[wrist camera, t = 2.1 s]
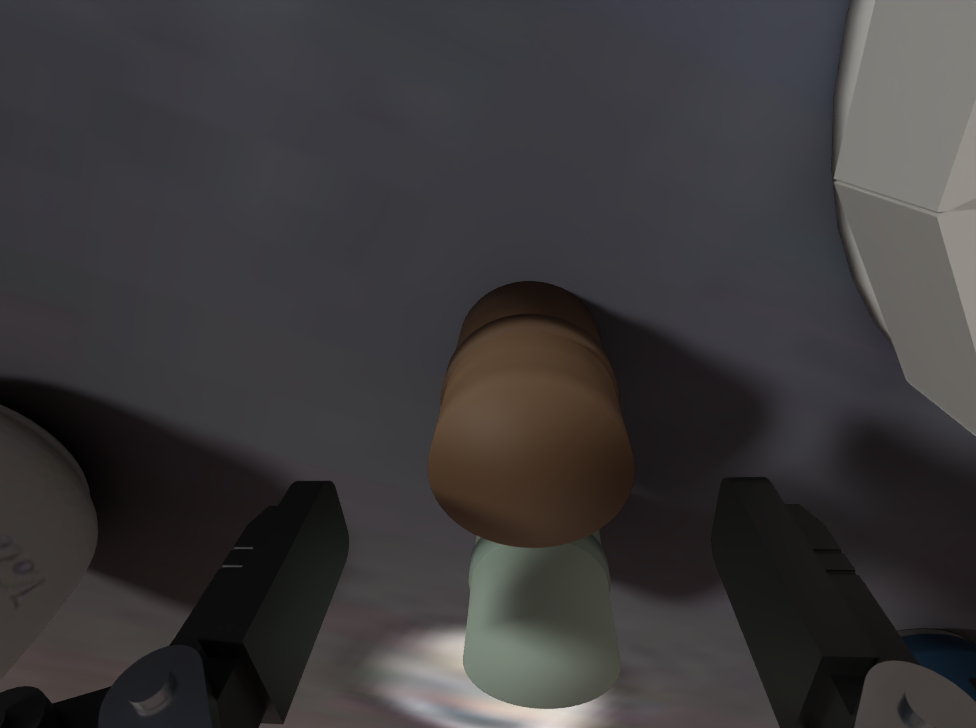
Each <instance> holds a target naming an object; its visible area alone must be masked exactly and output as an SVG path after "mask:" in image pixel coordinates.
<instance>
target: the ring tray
mask: <svg viewBox="0 0 976 728" xmlns="http://www.w3.org/2000/svg"><path fill="white" fill-rule="evenodd" d="M831 171H832V180H833V189H834V198H835V207H836V215H837V224H838V230H839V233H840V237H841V240H842V244H843V247H844V251H845V254H846V258H847V261H848V265H849V268H850V272H851V276H852V278H853V281H854V283H855V285H856V287H857V289H858V291H859V293H860V295H861V297H862V299H863V301H864V303H865V305H866V307H867V309H868V311H869V313H870V315H871V317H872V319H873V321H874V322H875V324H876V325H877V326H878V328H879V329H880V330H881V331H882V333H883V334H884V335H885V337H886V338H887V339H888V341H889V342H890V343H891V345H892V346H893V347H894V349H895V351H896V354H897V356H898V359H899V362H900V365H901V367H902V370H903V373H904V375H905V378H906V381H908V383H909V384H911V385H912V386H913V387H914V388H916V389H917V390H918V391H920V392H921V393H922V394H923V395H925V396H926V397H927V398H928V399H930V400H931V401H932V402H933V403H935V404H936V405H937V406H938V407H940V408H941V409H942V410H943V411H945V412H946V413H947V414H948V415H950V416H951V417H952V418H954V419H955V420H956V421H957V422H959V423H960V424H961V425H962V426H964V427H965V428H966V429H967V430H969V431H970V432H971V433H972V434H974V435H975V436H976V0H851V1H850V5H849V8H848V12H847V16H846V21H845V27H844V34H843V40H842V46H841V53H840V59H839V65H838V72H837V78H836V84H835V91H834V97H833V124H832V156H831Z"/></svg>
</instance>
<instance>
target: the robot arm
mask: <svg viewBox="0 0 976 728" xmlns="http://www.w3.org/2000/svg"><path fill="white" fill-rule="evenodd" d="M711 541H712V551H713V556H714V560H715V564H716V567H717V569H718V572H719V574H720V577H721V579H722V582H723V584H724V587H725V590H726V592H727V595H728V597H729V600H730V602H731V605H732V607H733V610H734V612H735V615H736V617H737V620H738V622H739V625H740V628H741V630H742V633H743V635H744V638H745V640H746V643H747V645H748V648H749V650H750V653H751V655H752V658H753V660H754V663H755V666H756V668H757V671H758V673H759V676H760V678H761V681H762V683H763V686H764V688H765V691H766V693H767V696H768V698H769V701H770V704H771V706H772V709H773V711H774V714H775V716H776V719H777V721H778V724H779V726H780V728H976V702H975V701H974V700H973V699H972V698H971V697H970V696H969V695H968V694H967V693H966V692H964V691H963V690H962V689H961V688H959V687H958V686H957V685H955V684H954V683H952V682H951V681H949V680H948V679H946V678H945V677H943V676H941V675H939V674H938V673H936V672H934V671H932V670H929V669H927V668H925V667H922V666H921V665H920V664H919V662H918V661H917V660H916V658H915V657H914V656H913V654H912V653H911V651H910V650H909V648H908V647H907V645H906V644H905V642H904V641H903V639H902V638H901V637H900V635H899V634H898V632H897V631H896V629H895V628H894V626H893V625H892V623H891V622H890V620H889V619H888V617H887V616H886V614H885V613H884V612H883V610H882V609H881V607H880V606H879V604H878V603H877V601H876V600H875V598H874V597H873V595H872V594H871V592H870V591H869V590H868V588H867V587H866V585H865V584H864V582H863V581H862V579H861V578H860V576H859V575H856V574H855V569H854V567H853V566H852V565H851V563H850V562H849V560H848V559H847V557H846V556H845V554H842V553H841V548H840V547H839V545H838V544H837V542H836V541H835V540H834V538H833V537H832V535H831V534H830V532H829V531H828V529H827V528H826V526H825V525H824V524H823V523H822V522H820V521H819V520H818V519H817V518H815V517H814V516H813V515H812V514H810V513H809V512H808V511H807V510H805V509H804V508H803V507H802V506H800V505H799V504H784V503H783V501H782V499H781V498H780V496H779V494H778V493H777V491H776V490H775V488H774V486H773V485H772V483H771V482H770V481H769V480H768V479H767V478H765V477H734V478H724V479H723V480H722V482H721V485H720V491H719V496H718V501H717V507H716V512H715V518H714V523H713V528H712V537H711ZM348 549H349V535H348V530H347V526H346V523H345V519H344V516H343V512H342V509H341V505H340V502H339V498H338V495H337V491H336V488H335V485H334V484H333V482H331V481H296V482H294V483H293V484H292V485H291V486H290V487H289V489H288V491H287V492H286V494H285V496H284V497H283V499H282V501H281V502H280V504H279V506H269V507H268V508H266V509H265V510H264V511H263V512H262V513H261V514H259V515H258V516H257V517H256V518H255V519H254V520H253V521H251V522H250V523H249V524H248V525H247V527H246V528H245V530H244V531H243V533H242V534H241V536H240V538H239V539H238V541H237V542H236V544H235V545H234V550H233V551H231V552H230V553H229V555H228V556H227V558H226V559H225V561H224V562H223V564H222V569H219V570H218V572H217V573H216V575H215V576H214V578H213V579H212V581H211V583H210V584H209V586H208V587H207V589H206V590H205V592H204V593H203V595H202V597H201V598H200V600H199V601H198V603H197V604H196V606H195V607H194V609H193V610H192V612H191V614H190V615H189V617H188V618H187V620H186V621H185V623H184V624H183V626H182V628H181V629H180V631H179V632H178V634H177V635H176V637H175V638H174V640H173V641H172V643H171V644H170V645H169V646H167V647H164V648H160V649H158V650H156V651H153V652H151V653H149V654H147V655H146V656H144V657H142V658H141V659H139V660H138V661H136V662H135V663H134V664H132V665H131V666H130V667H129V668H128V669H126V670H125V671H124V672H123V673H122V674H121V675H120V676H119V677H118V679H117V680H116V681H115V682H114V684H113V685H112V686H111V687H108V688H104V689H101V690H98V691H94V692H91V693H87V694H84V695H81V696H77V697H74V698H70V699H67V700H64V701H60V702H57V703H53V704H52V703H51V702H50V700H49V699H48V698H47V697H46V696H45V695H44V693H43V692H42V691H40V690H39V689H38V688H35V687H29V686H24V687H17V688H13V689H9V690H6V691H4V692H1V693H0V728H259V725H260V723H268V724H283V723H284V721H285V718H286V716H287V713H288V710H289V708H290V705H291V703H292V700H293V697H294V695H295V692H296V690H297V687H298V684H299V682H300V679H301V677H302V674H303V672H304V669H305V666H306V664H307V661H308V659H309V656H310V653H311V651H312V648H313V646H314V643H315V640H316V638H317V635H318V633H319V630H320V627H321V625H322V622H323V620H324V617H325V615H326V612H327V609H328V607H329V604H330V602H331V599H332V596H333V594H334V591H335V589H336V586H337V583H338V581H339V578H340V576H341V573H342V570H343V568H344V565H345V563H346V559H347V555H348Z"/></svg>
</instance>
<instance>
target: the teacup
mask: <svg viewBox="0 0 976 728" xmlns="http://www.w3.org/2000/svg"><path fill="white" fill-rule="evenodd" d="M97 539H98V522H97V515H96V511H95V508H94V505H93V502H92V500H91V497H90V490H89V486H88V484H87V481H86V478H85V476H84V473H83V471H82V469H81V468H80V466H79V464H78V462H77V461H76V460H75V458H74V457H73V456H72V454H71V453H70V452H69V451H68V450H67V449H66V448H65V447H64V446H63V445H62V444H61V443H60V442H59V441H58V440H57V439H56V438H55V437H53V436H52V435H51V434H50V433H49V432H47V431H46V430H44V429H43V428H42V427H40V426H39V425H37V424H36V423H34V422H33V421H32V420H30V419H28V418H26V417H25V416H23V415H21V414H20V413H18V412H15V411H13V410H11V409H9V408H7V407H5V406H3V405H0V680H1V679H2V678H3V677H4V676H5V674H6V673H7V672H8V671H9V670H10V669H11V667H12V666H13V665H14V664H15V663H16V662H17V660H18V659H19V658H20V657H21V656H22V654H23V653H24V652H25V651H26V650H27V648H28V647H29V646H30V645H31V644H32V642H33V641H34V640H35V639H36V638H37V636H38V635H39V634H40V633H41V632H42V630H43V629H44V628H45V627H46V625H47V624H48V623H49V622H50V620H51V619H52V618H53V617H54V615H55V614H56V613H57V611H58V610H59V609H60V607H61V606H62V605H63V603H64V602H65V601H66V600H67V598H68V597H69V596H70V594H71V593H72V592H73V590H74V589H75V588H76V586H77V585H78V583H79V582H80V580H81V578H82V577H83V575H84V573H85V572H86V570H87V568H88V566H89V565H90V563H91V560H92V558H93V555H94V553H95V549H96V545H97Z"/></svg>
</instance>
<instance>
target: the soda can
mask: <svg viewBox="0 0 976 728" xmlns="http://www.w3.org/2000/svg"><path fill="white" fill-rule="evenodd" d="M897 632H898V634H899V635H900V637H901V638H902V639H903V641H904V642H905V644H906V645H907V647H908V648H909V650H910V651H911V653H912V654H913V656H914V657H915V658H916V660H917V661H918V662H919V664H920V665H921V666H922V667H925V668H927V669H929V670H932V671H934V672H936V673H938V674H939V675H941V676H943V677H945V678H946V679H948V680H949V681H951V682H952V683H954V684H955V685H957V686H958V687H959V688H961V689H962V690H963V691H964V692H966V693H967V694H968V695H969V696H970V697H971V698H972V699H973V700H974V701H975V702H976V644H974V643H972V642H970V641H968V640H966V639H964V638H963V637H961V636H959V635H956V634H954V633H951V632H947V631H942V630H936V629H910V630H902V631H897Z"/></svg>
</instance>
